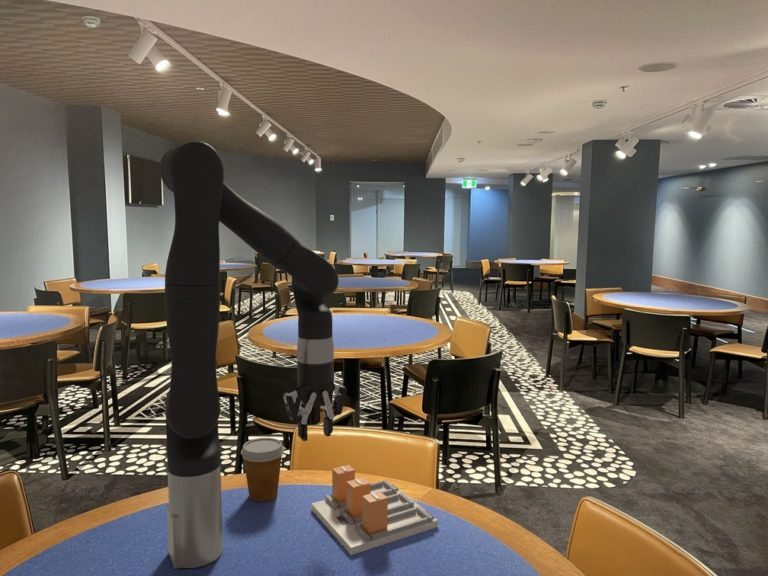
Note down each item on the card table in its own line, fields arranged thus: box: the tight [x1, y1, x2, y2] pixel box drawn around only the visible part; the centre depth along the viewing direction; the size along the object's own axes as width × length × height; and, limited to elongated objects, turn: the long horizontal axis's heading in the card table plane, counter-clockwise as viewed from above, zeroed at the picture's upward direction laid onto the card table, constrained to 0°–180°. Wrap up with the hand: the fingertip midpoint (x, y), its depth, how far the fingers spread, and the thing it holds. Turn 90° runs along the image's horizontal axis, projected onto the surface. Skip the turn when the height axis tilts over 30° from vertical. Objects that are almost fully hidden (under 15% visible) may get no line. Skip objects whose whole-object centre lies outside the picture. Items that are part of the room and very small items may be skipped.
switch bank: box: [310, 479, 439, 556], centre depth 117 cm, size 20×19×2 cm
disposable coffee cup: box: [240, 437, 285, 503], centre depth 126 cm, size 10×10×12 cm
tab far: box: [331, 464, 356, 505], centre depth 121 cm, size 4×3×7 cm
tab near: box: [362, 491, 388, 537], centre depth 109 cm, size 4×3×7 cm
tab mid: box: [347, 476, 371, 520], centre depth 115 cm, size 4×3×7 cm
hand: (315, 437), depth 116 cm, fingers open, 4 cm apart
